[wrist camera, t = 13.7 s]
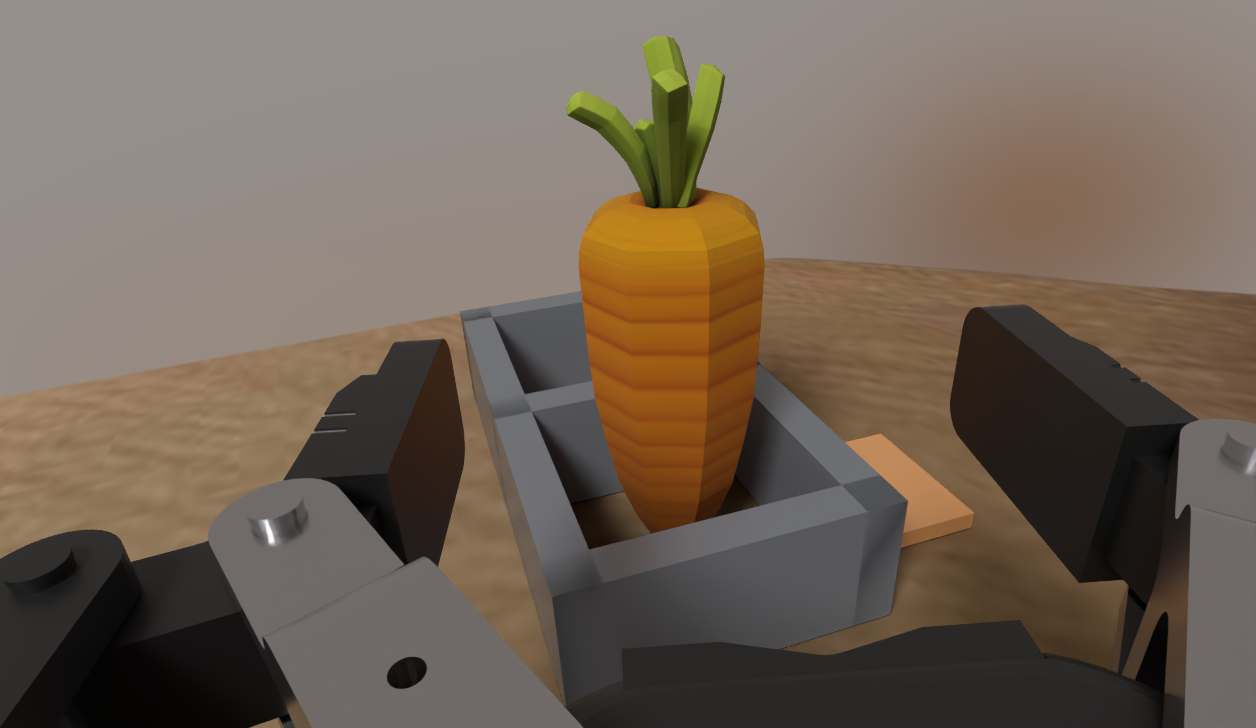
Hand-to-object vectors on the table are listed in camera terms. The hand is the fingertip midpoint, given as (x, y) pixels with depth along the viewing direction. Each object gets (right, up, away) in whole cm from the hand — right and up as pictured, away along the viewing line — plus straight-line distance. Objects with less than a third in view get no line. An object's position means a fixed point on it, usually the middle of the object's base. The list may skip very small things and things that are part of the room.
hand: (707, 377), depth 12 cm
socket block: (+1, -4, +16) cm, 17 cm away
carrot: (0, -6, +12) cm, 14 cm away
